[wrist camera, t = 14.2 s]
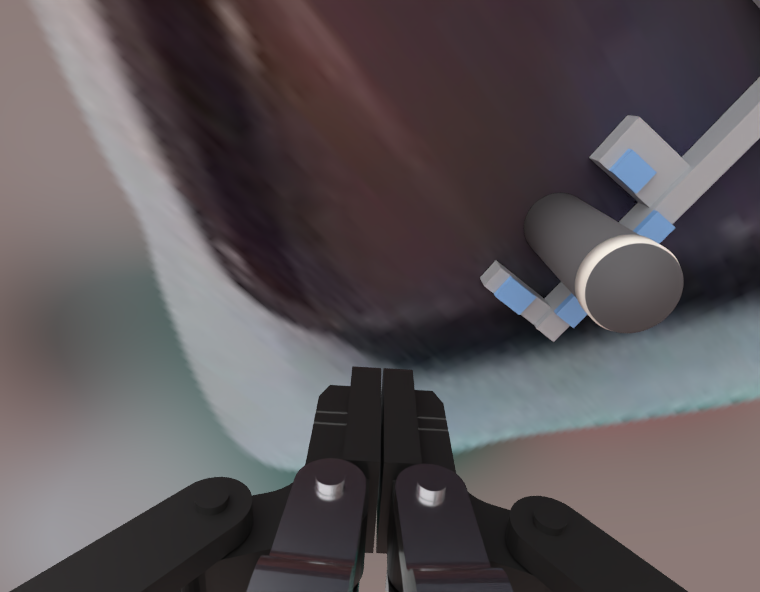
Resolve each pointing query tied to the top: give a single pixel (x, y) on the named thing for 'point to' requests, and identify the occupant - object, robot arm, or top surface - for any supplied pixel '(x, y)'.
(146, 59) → the top surface
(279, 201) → the top surface
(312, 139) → the top surface
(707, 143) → the grey blue frame
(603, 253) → the grey cylinder post
